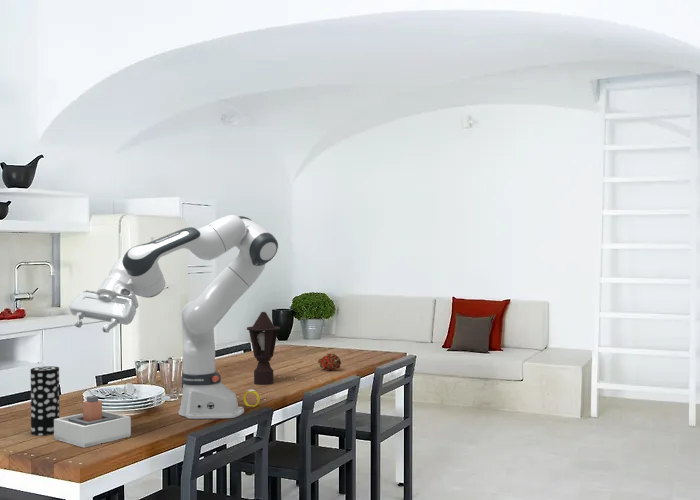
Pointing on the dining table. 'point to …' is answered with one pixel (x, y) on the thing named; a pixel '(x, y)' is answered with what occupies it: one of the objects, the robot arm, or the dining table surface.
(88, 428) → the walled box
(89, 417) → the connector
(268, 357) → the lantern
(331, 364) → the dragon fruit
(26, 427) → the dining table surface
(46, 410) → the spotted tube
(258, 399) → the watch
